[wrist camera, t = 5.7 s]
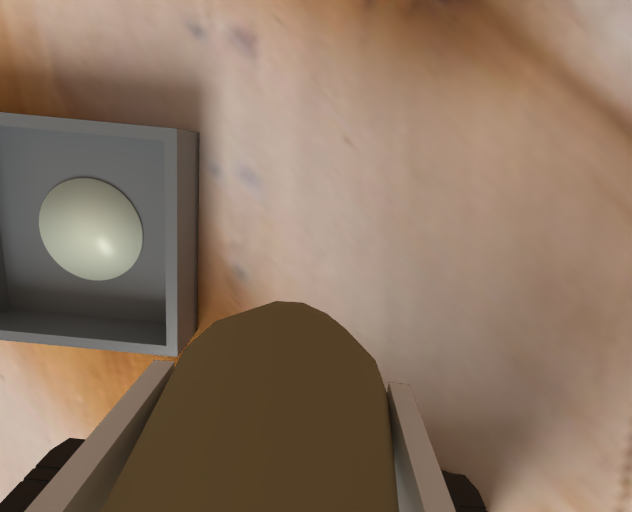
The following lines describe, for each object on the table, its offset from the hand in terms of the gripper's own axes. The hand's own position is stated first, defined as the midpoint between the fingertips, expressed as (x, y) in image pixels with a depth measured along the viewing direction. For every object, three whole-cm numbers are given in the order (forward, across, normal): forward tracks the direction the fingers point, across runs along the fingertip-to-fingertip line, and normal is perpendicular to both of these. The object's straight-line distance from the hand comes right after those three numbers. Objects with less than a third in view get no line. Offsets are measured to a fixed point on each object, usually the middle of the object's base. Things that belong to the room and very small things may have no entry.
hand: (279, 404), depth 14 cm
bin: (+24, +21, 0) cm, 32 cm away
